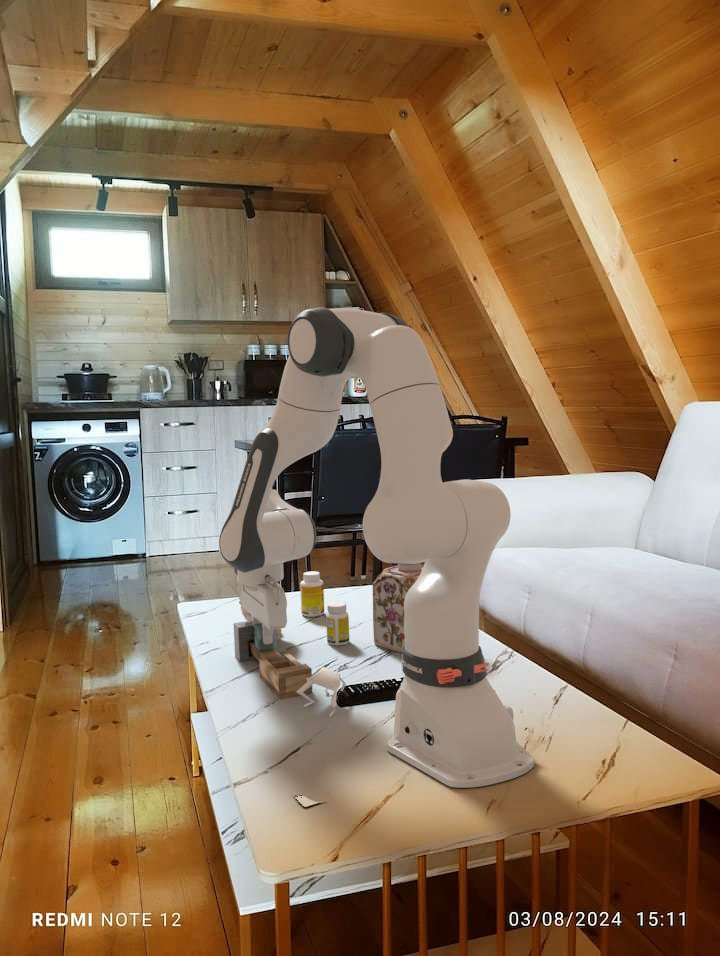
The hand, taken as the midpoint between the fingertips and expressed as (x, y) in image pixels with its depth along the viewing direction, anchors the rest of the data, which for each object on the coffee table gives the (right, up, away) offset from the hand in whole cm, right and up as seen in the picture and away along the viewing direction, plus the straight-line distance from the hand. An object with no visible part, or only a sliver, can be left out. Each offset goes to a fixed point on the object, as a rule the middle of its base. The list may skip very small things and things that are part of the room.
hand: (263, 639), depth 153 cm
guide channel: (+5, -6, -11) cm, 14 cm away
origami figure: (+13, -7, -21) cm, 26 cm away
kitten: (-2, -4, +17) cm, 17 cm away
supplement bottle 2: (+14, -3, +13) cm, 19 cm away
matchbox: (+13, -11, -51) cm, 54 cm away
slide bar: (+1, -4, -1) cm, 4 cm away
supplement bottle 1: (+8, -1, +35) cm, 36 cm away
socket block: (-2, -5, +6) cm, 8 cm away
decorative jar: (+30, -3, +10) cm, 32 cm away
